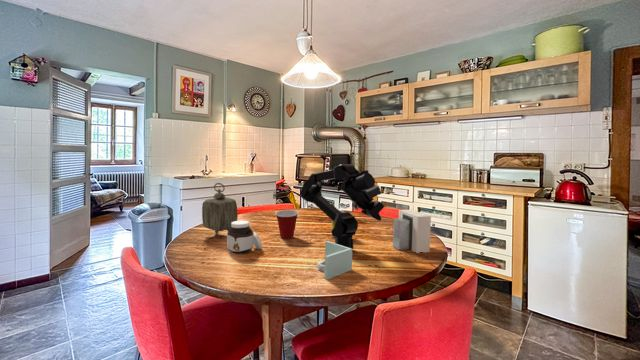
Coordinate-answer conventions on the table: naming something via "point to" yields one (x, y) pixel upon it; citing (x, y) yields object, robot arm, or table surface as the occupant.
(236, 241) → the spread jar
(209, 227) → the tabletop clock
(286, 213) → the plastic cup
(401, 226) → the light grey rectangular block
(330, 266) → the l-shaped corner panel
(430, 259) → the table surface
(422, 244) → the housing
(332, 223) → the supplement bottle
